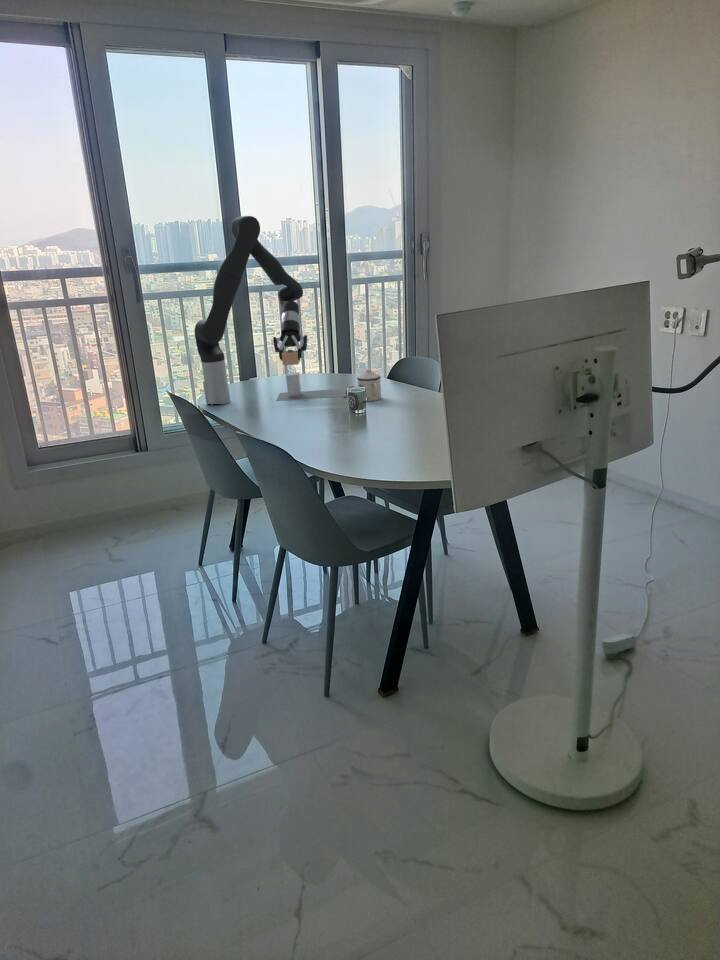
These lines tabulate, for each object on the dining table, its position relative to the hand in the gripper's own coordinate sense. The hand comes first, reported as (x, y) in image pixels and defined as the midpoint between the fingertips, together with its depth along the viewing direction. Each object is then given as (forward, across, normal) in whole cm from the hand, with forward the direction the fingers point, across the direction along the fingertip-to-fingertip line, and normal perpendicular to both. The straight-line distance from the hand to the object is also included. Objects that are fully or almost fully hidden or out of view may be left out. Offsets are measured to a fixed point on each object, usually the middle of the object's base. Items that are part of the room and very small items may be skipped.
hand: (290, 359), depth 261 cm
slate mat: (+10, +7, +12) cm, 17 cm away
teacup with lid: (+19, +31, +3) cm, 37 cm away
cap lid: (0, 0, +3) cm, 3 cm away
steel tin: (+10, 0, +12) cm, 15 cm away
